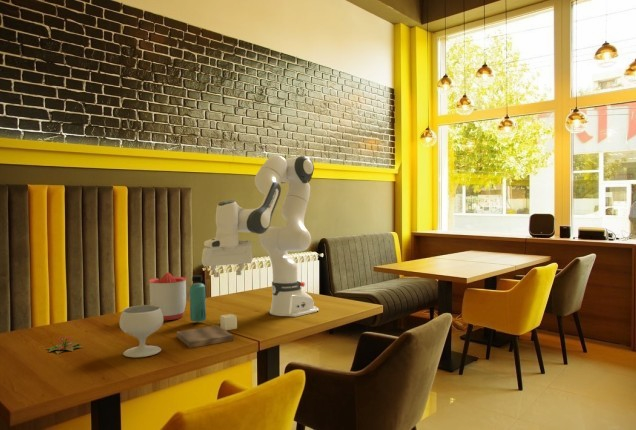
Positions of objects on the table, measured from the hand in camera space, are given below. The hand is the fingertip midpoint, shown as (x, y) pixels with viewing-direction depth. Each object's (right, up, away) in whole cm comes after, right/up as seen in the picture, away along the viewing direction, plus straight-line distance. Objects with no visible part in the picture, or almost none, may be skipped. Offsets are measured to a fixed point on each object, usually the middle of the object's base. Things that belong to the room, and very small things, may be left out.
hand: (227, 276), depth 193 cm
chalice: (-24, -23, -29) cm, 44 cm away
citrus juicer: (-30, -21, +19) cm, 41 cm away
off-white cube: (0, -21, +1) cm, 21 cm away
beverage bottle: (-14, -21, +8) cm, 27 cm away
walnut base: (-6, -22, -14) cm, 26 cm away
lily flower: (-53, -23, -24) cm, 62 cm away
